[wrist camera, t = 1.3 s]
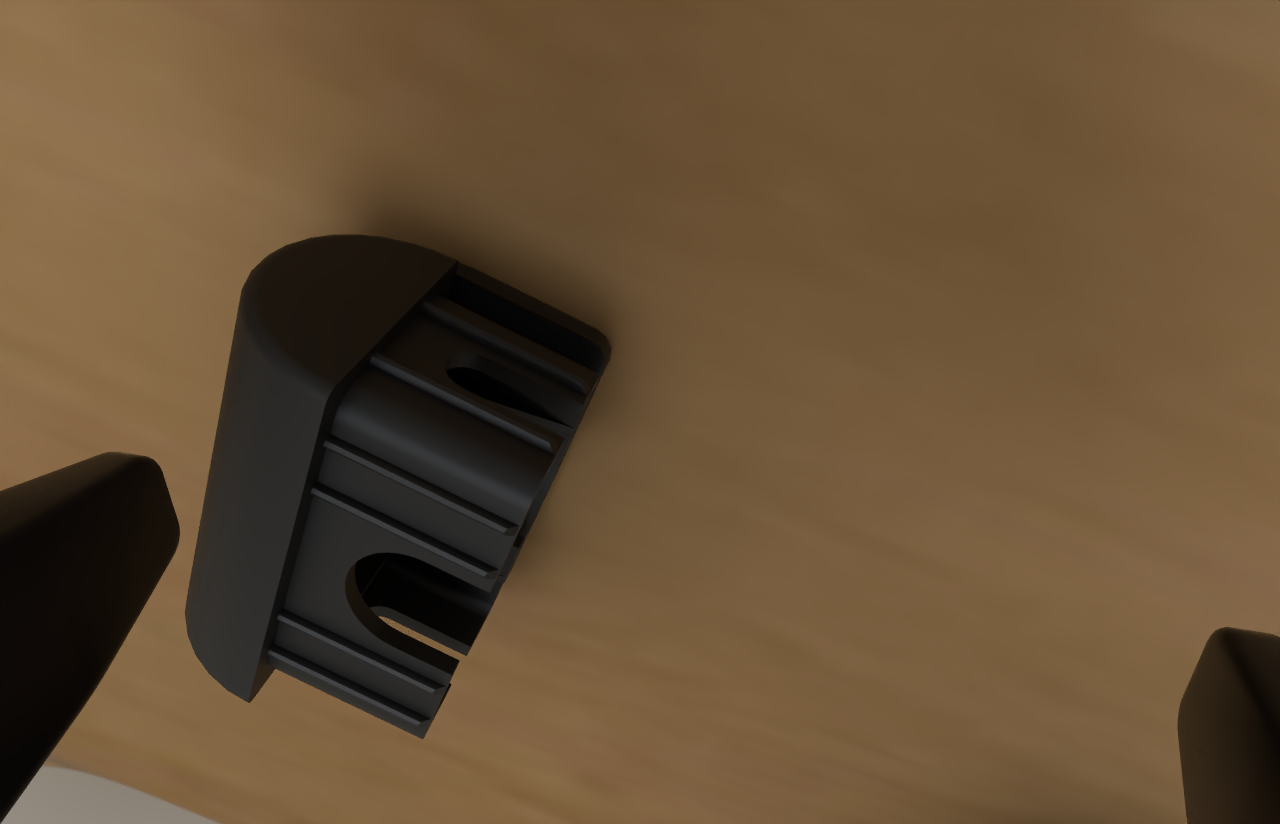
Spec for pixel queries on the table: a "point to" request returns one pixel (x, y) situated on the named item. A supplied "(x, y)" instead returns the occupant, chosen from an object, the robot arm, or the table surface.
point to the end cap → (377, 468)
